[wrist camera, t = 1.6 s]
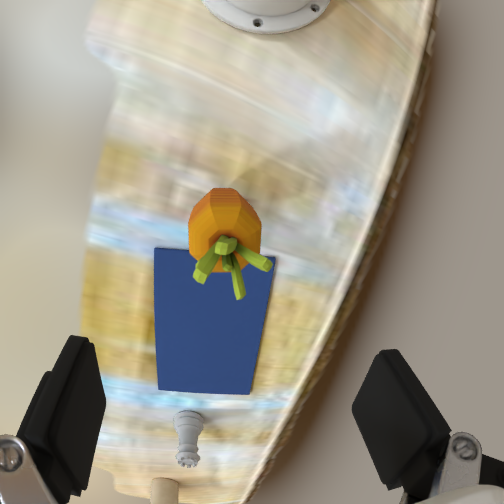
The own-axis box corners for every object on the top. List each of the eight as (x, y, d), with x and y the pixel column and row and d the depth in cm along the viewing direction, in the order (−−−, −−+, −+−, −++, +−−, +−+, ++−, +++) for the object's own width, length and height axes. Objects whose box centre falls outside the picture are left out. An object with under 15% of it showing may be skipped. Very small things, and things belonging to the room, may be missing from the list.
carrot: (256, 184, 30) (295, 248, 16) (234, 230, 31) (252, 325, 18) (206, 163, 28) (199, 210, 15) (186, 212, 30) (165, 297, 16)
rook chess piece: (190, 405, 41) (189, 452, 33) (210, 420, 42) (212, 465, 35) (167, 416, 41) (163, 461, 34) (187, 429, 43) (186, 473, 36)
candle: (158, 475, 49) (156, 518, 40) (183, 482, 51) (183, 524, 42) (147, 482, 51) (144, 523, 41) (170, 490, 52) (170, 529, 43)
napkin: (154, 247, 31) (154, 249, 31) (275, 257, 33) (275, 258, 32) (158, 387, 39) (158, 389, 38) (249, 392, 41) (249, 394, 40)
